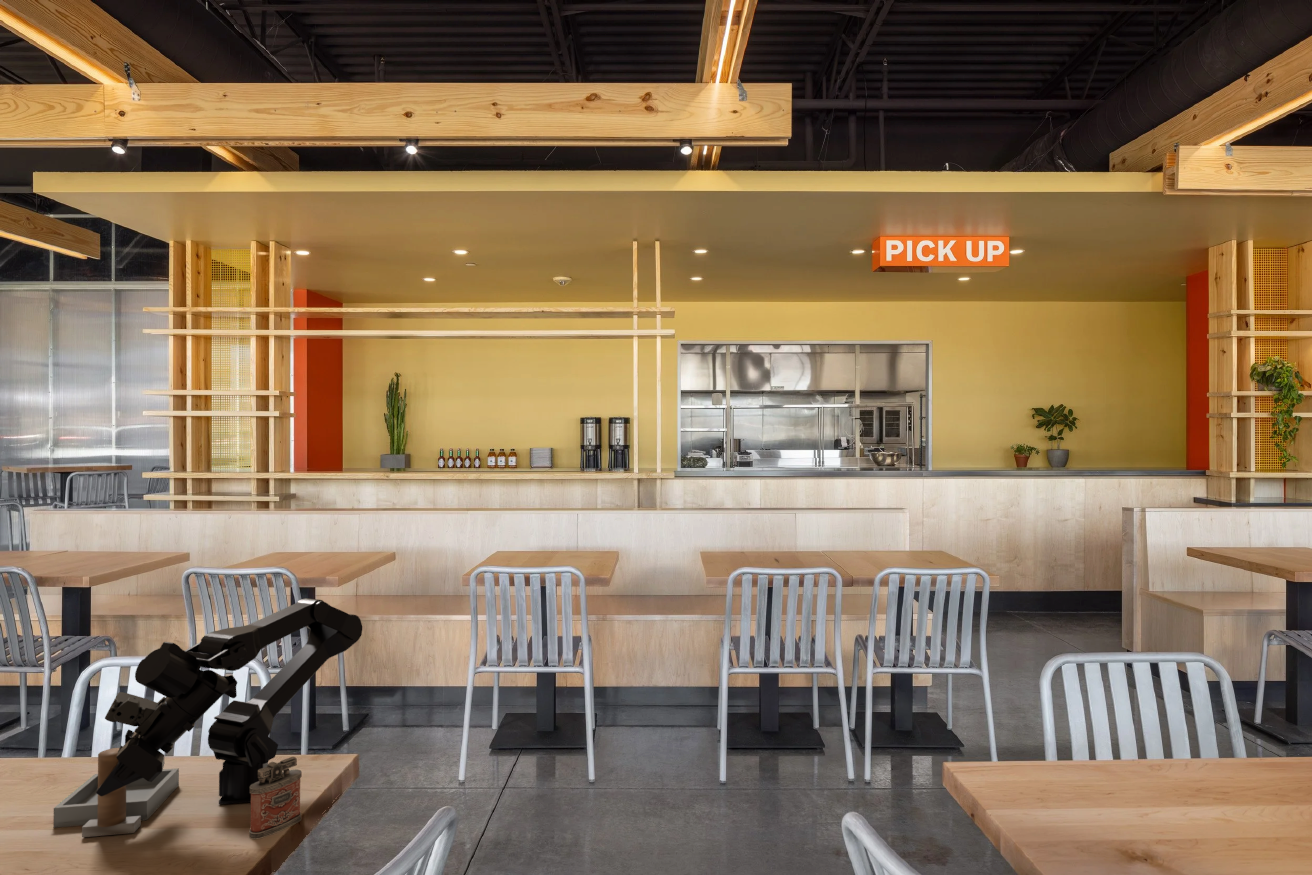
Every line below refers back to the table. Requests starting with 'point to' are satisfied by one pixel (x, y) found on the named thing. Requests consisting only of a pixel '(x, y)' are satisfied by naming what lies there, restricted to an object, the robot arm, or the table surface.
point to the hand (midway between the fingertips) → (101, 789)
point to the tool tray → (138, 799)
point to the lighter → (275, 798)
